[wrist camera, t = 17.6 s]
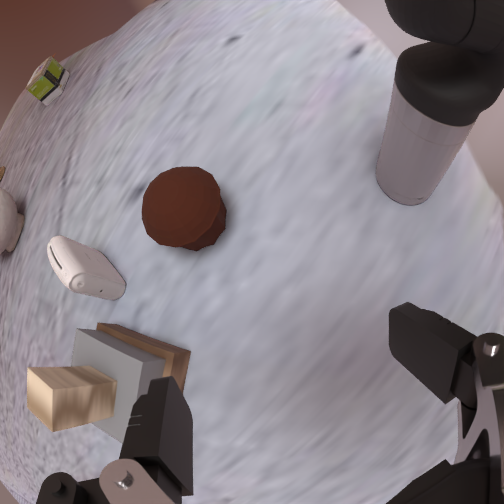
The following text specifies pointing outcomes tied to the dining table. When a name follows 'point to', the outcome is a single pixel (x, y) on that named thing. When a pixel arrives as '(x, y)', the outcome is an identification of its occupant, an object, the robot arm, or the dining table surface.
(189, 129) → the dining table surface
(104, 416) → the birch pillar block
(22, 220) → the ceramic pitcher
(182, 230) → the muffin
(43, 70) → the tea box
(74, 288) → the photo printer
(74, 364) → the slate top block
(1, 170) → the candle holder
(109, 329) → the walnut base block
